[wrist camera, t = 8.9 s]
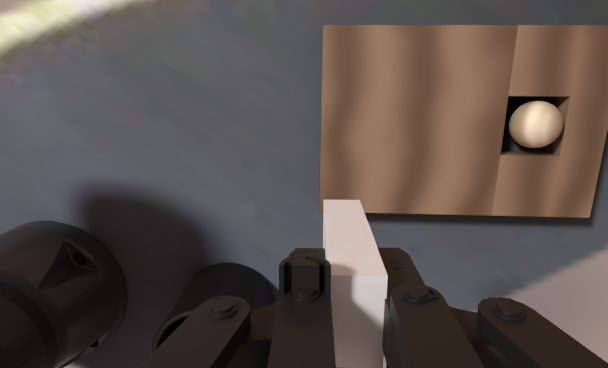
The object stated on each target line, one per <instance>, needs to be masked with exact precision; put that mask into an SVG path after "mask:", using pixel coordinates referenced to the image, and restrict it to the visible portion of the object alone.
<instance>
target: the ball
mask: <svg viewBox="0 0 608 368" xmlns="http://www.w3.org/2000/svg"><path fill="white" fill-rule="evenodd" d="M562 128H563V117H562V114H561V112H560V111H559V110H558V109H557V108H556V107H555V106H554V105H552V104H550V103H548V102H545V101H532V102H528V103H525V104H523V105H521V106H520V107H519V108H517V109H516V110H515V111H514V113H513V114H512V116H511V118H510V121H509V132H510V134H511V136H512V138H513V139H514V140H515V141H516V142H517V143H518V144H520V145H522V146H524V147H528V148H540V147H544V146H546V145H549V144H550V143H552V142H553V141H555V140H556V139H557V138H558V136H559V135H560V133H561V131H562Z"/></svg>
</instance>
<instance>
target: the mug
mask: <svg viewBox="0 0 608 368" xmlns="http://www.w3.org/2000/svg"><path fill="white" fill-rule="evenodd" d="M225 295H227V296H236V297H240V298H243V299H244V300H246V301H247V302H248V303H249V306H250V310H252V309H258V308H262V307H266V306H269V305H271V304H273V303H274V298H273V294H272V291H271V289H270V287H269V286H268V284H267V282H266V281H265V280H264V279H263V278H262V276H260V275H259V274H258V273H257V272H255V271H254V270H252V269H251V268H248V267H246V266H244V265H240V264H236V263H220V264H215V265H212V266H209V267H207V268H205V269H203V270H202V271H200V272H199V273H198V274H197V275H196V276H195V277H194V278H193V279H192V281H191V282H190V284H189V285H188V287H187V288H186V290H185V291H184V293H183V294H182V296H181V297H180V299H179V300H178V302H177V303H176V305H175V306H174V308H173V309H172V311H171V312H170V314H169V315H168V317H167V318H166V320H165V321H164V323H163V324H162V326H161V327H160V329H159V330H158V332H157V334H156V336H155V339H154V342H153V347H152V354H153V353H154V352H155V351H156V350H157V349H158V347H159V346H160V345H161V344H162V343H163V342H164V341H165V340H166V339H167V338H168V337H169V336H170V335H171V334H172V333H173V332H174V331H175V330H176V329H177V328H178V327H179V326H180V325H181V324H182V323H183V322H184V321H185V320H186V318H187V317H188V316H189V315H190V314H191V313H192V312H193V311H194V310H195V309H196V308H197V307H198V306H199V305H201V304H202V303H203V302H205V301H207V300H209V299H212V298H214V297H218V296H225Z"/></svg>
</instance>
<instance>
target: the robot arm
mask: <svg viewBox="0 0 608 368" xmlns="http://www.w3.org/2000/svg"><path fill="white" fill-rule="evenodd" d="M279 294H280V295H279V300H278V301H276V302H275V303H273V304H271V305H269V306H266V307H262V308H258V309H252V310H250V306H249V303H248V302H247V301H246V300H244V299H243V298H240V297H236V296H227V295H225V296H218V297H214V298H212V299H209V300H207V301H205V302H203V303H202V304H201V305H199V306H198V307H197V308H196V309H195V310H194V311H193V312H192V313H191V314H190V315H189V316H188V317H187V318H186V320H185V321H184V322H183V323H182V324H181V325H180V326H179V327H178V328H177V329H176V330H175V331H174V332H173V333H172V334H171V335H170V336H169V337H168V338H167V339H166V340H165V341H164V342H163V343H162V344H161V345H160V346H159V347H158V349H157V350H156V351H155V352H154V353H153V354H152V355H151V356H150V357H149V358H148V359H147V360H146V361H145V362H144V363H143V364H142V365H141V366H140V367H139V368H336V367H352V368H383V353H384V355H385V359H386V363H387V366H386V368H608V363H607V362H605V361H604V360H602V359H601V358H600V357H598V356H597V355H596V354H594V353H593V352H591V351H590V350H589V349H587V348H586V347H584V346H583V345H582V344H580V343H579V342H578V341H576V340H575V339H573V338H572V337H571V336H569V335H568V334H566V333H565V332H564V331H562V330H561V329H560V328H558V327H557V326H555V325H554V324H553V323H551V322H550V321H548V320H547V319H546V318H544V317H543V316H542V315H540V314H539V313H537V312H536V311H535V310H533V309H531V308H530V307H528V306H526V305H525V304H523V303H520V302H516V301H514V300H513V299H509V298H507V299H505V298H502V297H499V298H488V299H484V300H482V301H481V302H480V303H479V304H478V312H477V313H476V312H471V311H466V310H460V309H456V308H452V307H450V306H448V304H447V302H446V301H445V299H444V297H443V296H442V295H441V294H440V293H439V292H438V291H437V290H435V289H433V288H431V287H429V286H426V285H425V284H424V282H423V280H422V278H421V276H420V275H419V273H418V271H417V270H416V267H415V265H414V264H413V262H412V260H411V258H410V256H409V254H407V253H406V252H404V251H403V250H401V249H400V248H377V245H376V243H375V240H374V237H373V235H372V232H371V229H370V227H369V224H368V221H367V218H366V216H365V213H364V210H363V208H362V205H361V202H360V200H323V248H296V249H295V250H294V251H293V252H292V253H291V254H289V257H288V258H286V259H284V260H282V261H281V263H280V264H279ZM126 302H127V291H126V284H125V280H124V277H123V274H122V272H121V270H120V268H119V266H118V264H117V262H116V261H115V259H114V258H113V256H112V255H111V254H110V252H109V251H108V250H107V249H106V248H105V247H104V246H103V245H102V244H101V243H100V242H99V241H97V240H96V239H95V238H93V237H92V236H91V235H89V234H87V233H86V232H84V231H82V230H80V229H78V228H76V227H73V226H70V225H67V224H64V223H59V222H53V221H37V222H30V223H26V224H23V225H21V226H18V227H16V228H14V229H12V230H10V231H8V232H5V233H3V234H1V235H0V368H64V367H66V366H67V365H69V364H71V363H73V362H75V361H76V360H78V359H80V358H81V357H83V356H85V355H87V354H89V353H90V352H92V351H94V350H95V349H96V348H98V347H99V346H100V345H101V344H102V343H103V342H104V341H105V340H106V339H107V338H108V337H109V336H110V334H111V333H112V332H113V331H114V330H115V329H116V327H117V326H118V325H119V323H120V321H121V319H122V317H123V315H124V312H125V308H126Z"/></svg>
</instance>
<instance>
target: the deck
mask: <svg viewBox="0 0 608 368" xmlns="http://www.w3.org/2000/svg"><path fill="white" fill-rule="evenodd" d="M508 96H553V99H552V105H554V106H555V107H556V108H557V109H558V110H559V111H560V112H561V114H562V117H563V128H562V131H561V133H560V135H559V136H558V138H557V139H556V140H555V141H553V142H552V143H550V144H549V145H546V146H545V148H544V151H501V147H502V140H503V132H504V125H505V118H506V111H507V103H508ZM607 130H608V25H323V61H322V117H321V172H320V212H323V200H360V202H361V205H362V208H363V210H364V213H401V214H446V215H491V216H535V217H580V218H590V213H591V208H592V204H593V199H594V194H595V189H596V184H597V179H598V174H599V169H600V165H601V160H602V155H603V150H604V145H605V140H606V135H607Z"/></svg>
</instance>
